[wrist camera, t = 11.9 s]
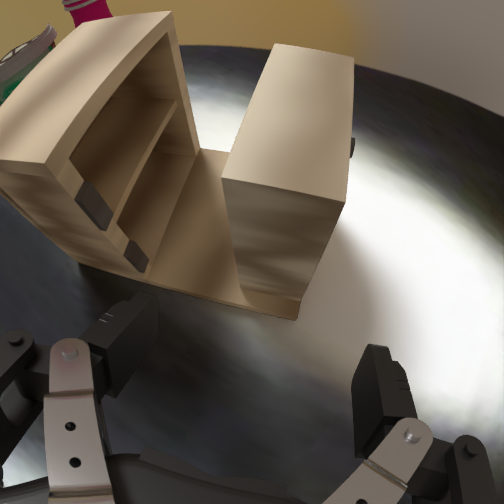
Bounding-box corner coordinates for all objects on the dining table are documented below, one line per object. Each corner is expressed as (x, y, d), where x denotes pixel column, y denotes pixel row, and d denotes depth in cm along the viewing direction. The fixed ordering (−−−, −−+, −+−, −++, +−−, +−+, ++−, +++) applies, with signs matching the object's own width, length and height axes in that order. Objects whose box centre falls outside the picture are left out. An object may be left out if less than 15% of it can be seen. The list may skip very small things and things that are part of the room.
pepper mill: (151, 72, 33) (115, -72, 14) (101, 104, 31) (44, -42, 13) (125, 58, 35) (89, -65, 17) (80, 86, 33) (30, -37, 15)
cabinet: (77, 262, 23) (-36, 157, 10) (133, 147, 28) (82, 22, 15) (295, 320, 21) (351, 215, 8) (322, 178, 26) (358, 27, 13)
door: (240, 288, 21) (220, 176, 10) (269, 178, 24) (275, 43, 13) (315, 304, 20) (375, 209, 9) (333, 192, 24) (373, 62, 13)
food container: (6, 144, 30) (-32, 93, 21) (5, 122, 32) (-27, 74, 23) (83, 91, 32) (56, 31, 23) (75, 74, 34) (51, 20, 25)
